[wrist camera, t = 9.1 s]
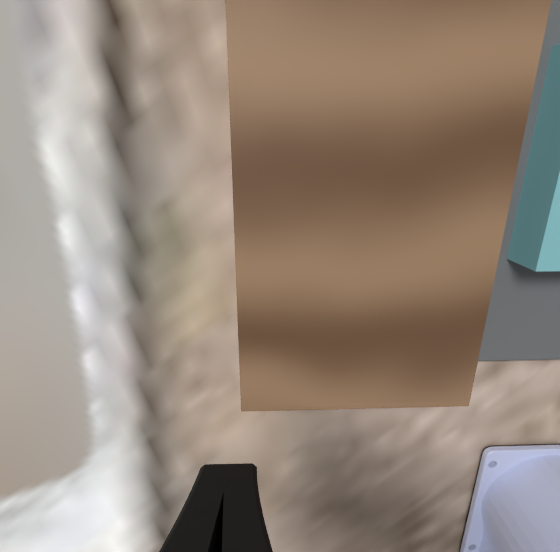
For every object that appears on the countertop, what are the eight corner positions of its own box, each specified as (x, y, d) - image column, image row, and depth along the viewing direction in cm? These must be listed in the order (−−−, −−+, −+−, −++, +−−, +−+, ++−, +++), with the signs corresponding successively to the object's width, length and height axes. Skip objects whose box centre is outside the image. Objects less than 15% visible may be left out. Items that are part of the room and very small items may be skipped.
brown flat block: (429, 357, 20) (468, 406, 16) (245, 360, 20) (241, 411, 16) (503, -118, 13) (596, -223, 10) (230, -126, 13) (216, -240, 9)
